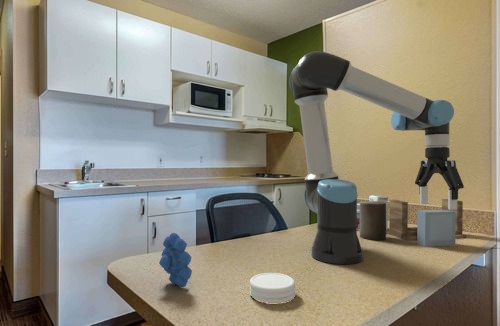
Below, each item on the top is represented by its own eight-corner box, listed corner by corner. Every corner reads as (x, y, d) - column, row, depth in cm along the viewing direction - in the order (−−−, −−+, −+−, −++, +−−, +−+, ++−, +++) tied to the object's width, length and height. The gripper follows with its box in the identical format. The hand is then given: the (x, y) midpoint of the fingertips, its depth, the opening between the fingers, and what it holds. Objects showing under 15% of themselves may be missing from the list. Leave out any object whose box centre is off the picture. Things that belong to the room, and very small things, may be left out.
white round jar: (278, 284, 76) (278, 269, 76) (304, 300, 67) (304, 283, 67) (241, 291, 71) (241, 276, 71) (264, 310, 62) (264, 292, 62)
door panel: (425, 246, 110) (425, 212, 110) (417, 243, 114) (417, 210, 114) (455, 245, 112) (455, 211, 112) (446, 242, 116) (446, 209, 116)
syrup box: (368, 228, 140) (368, 195, 140) (379, 227, 142) (379, 195, 142) (376, 230, 135) (377, 196, 135) (388, 229, 137) (388, 196, 137)
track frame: (405, 240, 119) (405, 202, 119) (386, 233, 130) (386, 199, 130) (466, 237, 123) (466, 201, 123) (443, 231, 135) (443, 198, 135)
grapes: (148, 282, 76) (148, 232, 76) (173, 275, 80) (174, 228, 80) (170, 298, 67) (171, 241, 67) (198, 289, 72) (198, 236, 72)
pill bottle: (356, 227, 141) (356, 202, 141) (369, 229, 137) (369, 204, 137) (348, 229, 137) (348, 203, 137) (361, 231, 133) (361, 205, 133)
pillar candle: (389, 241, 117) (389, 200, 117) (361, 239, 119) (362, 199, 119) (382, 235, 127) (382, 198, 127) (357, 234, 128) (357, 197, 128)
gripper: (476, 145, 101) (477, 211, 101) (422, 148, 126) (422, 201, 126) (456, 145, 100) (456, 212, 100) (404, 148, 124) (405, 202, 125)
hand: (437, 206), depth 113 cm, fingers open, 13 cm apart
